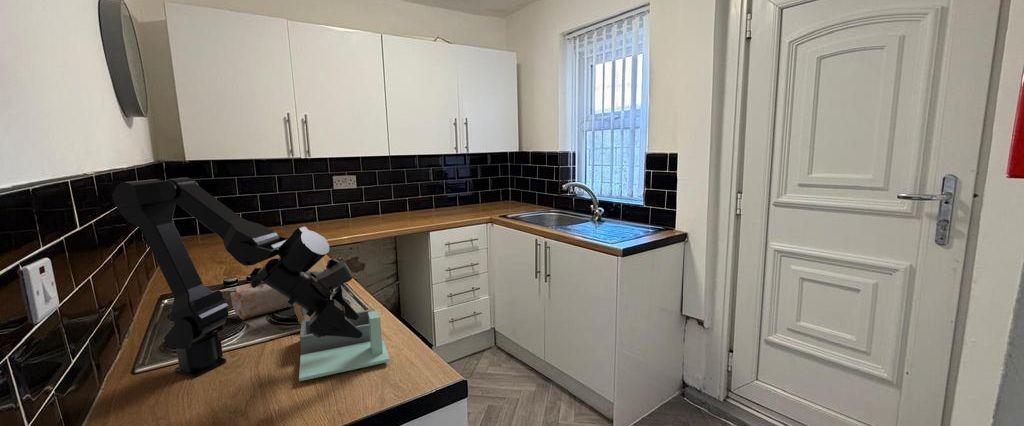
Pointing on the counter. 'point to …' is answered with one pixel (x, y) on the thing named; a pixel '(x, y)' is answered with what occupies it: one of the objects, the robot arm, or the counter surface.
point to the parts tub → (330, 342)
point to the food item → (257, 300)
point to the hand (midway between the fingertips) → (359, 326)
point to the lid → (347, 355)
